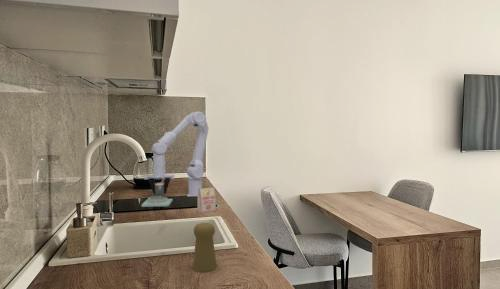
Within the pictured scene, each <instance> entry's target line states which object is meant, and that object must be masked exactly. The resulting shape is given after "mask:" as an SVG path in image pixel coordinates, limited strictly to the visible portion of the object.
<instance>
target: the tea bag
mask: <svg viewBox="0 0 500 289" xmlns="http://www.w3.org/2000/svg"><path fill="white" fill-rule="evenodd" d="M215 192H216V191H215V187H204V188H203V187H202V188H201V189H199V191H198V196H196V198H197V200H196V201H197V205H196V206H197V212H198V213H199V214H204V213H205V214H207V213H214V212H216V211H217V210H216V208H217V206H216V204H217V203H216V193H215Z"/></svg>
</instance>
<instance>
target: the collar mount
mask: <svg viewBox="0 0 500 289" xmlns="http://www.w3.org/2000/svg"><path fill="white" fill-rule="evenodd" d="M147 199H148V203H153V204H155V203H164V202H167V199H168V196H167V195H165V196H155V195H152V196H148V197H147Z"/></svg>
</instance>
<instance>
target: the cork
mask: <svg viewBox="0 0 500 289" xmlns="http://www.w3.org/2000/svg"><path fill="white" fill-rule="evenodd" d="M215 232H216V230H215V226H214V224H212V223H211V222H201V223H200V222H199V223H197V224H196V225H194V227H193V234H194V237H195V242H194V243H195V245H194V254H193V262H192V270H193V271H194V272H199V273H207V272H208V273H209V272H212V271H214V270H216V269H217V267H218V263H217V258H216V252H215V244H214V238H213V236H214V235H215Z"/></svg>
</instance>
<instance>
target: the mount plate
mask: <svg viewBox="0 0 500 289" xmlns="http://www.w3.org/2000/svg"><path fill="white" fill-rule="evenodd" d="M173 201H174V200H173V198H167V202H164V203H155V204H153V203H148V198H147V199H146V200H145V201H144V202H142V203H141V208H144V207H147V208H148V207H170V205H171V203H173Z"/></svg>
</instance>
